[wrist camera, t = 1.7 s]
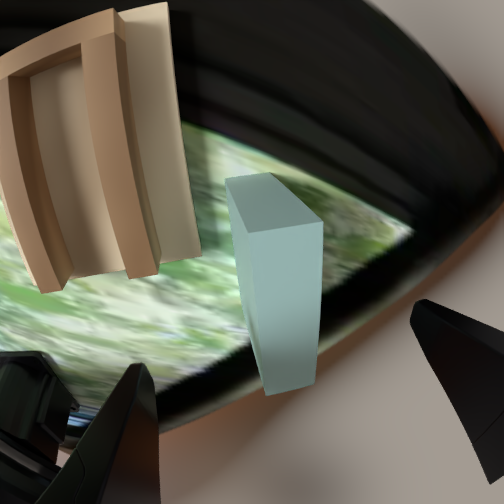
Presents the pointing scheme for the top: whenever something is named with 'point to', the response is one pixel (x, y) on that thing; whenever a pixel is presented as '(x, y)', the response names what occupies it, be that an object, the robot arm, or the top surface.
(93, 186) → the track board
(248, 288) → the slider block
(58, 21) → the top surface
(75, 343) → the top surface
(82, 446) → the robot arm
